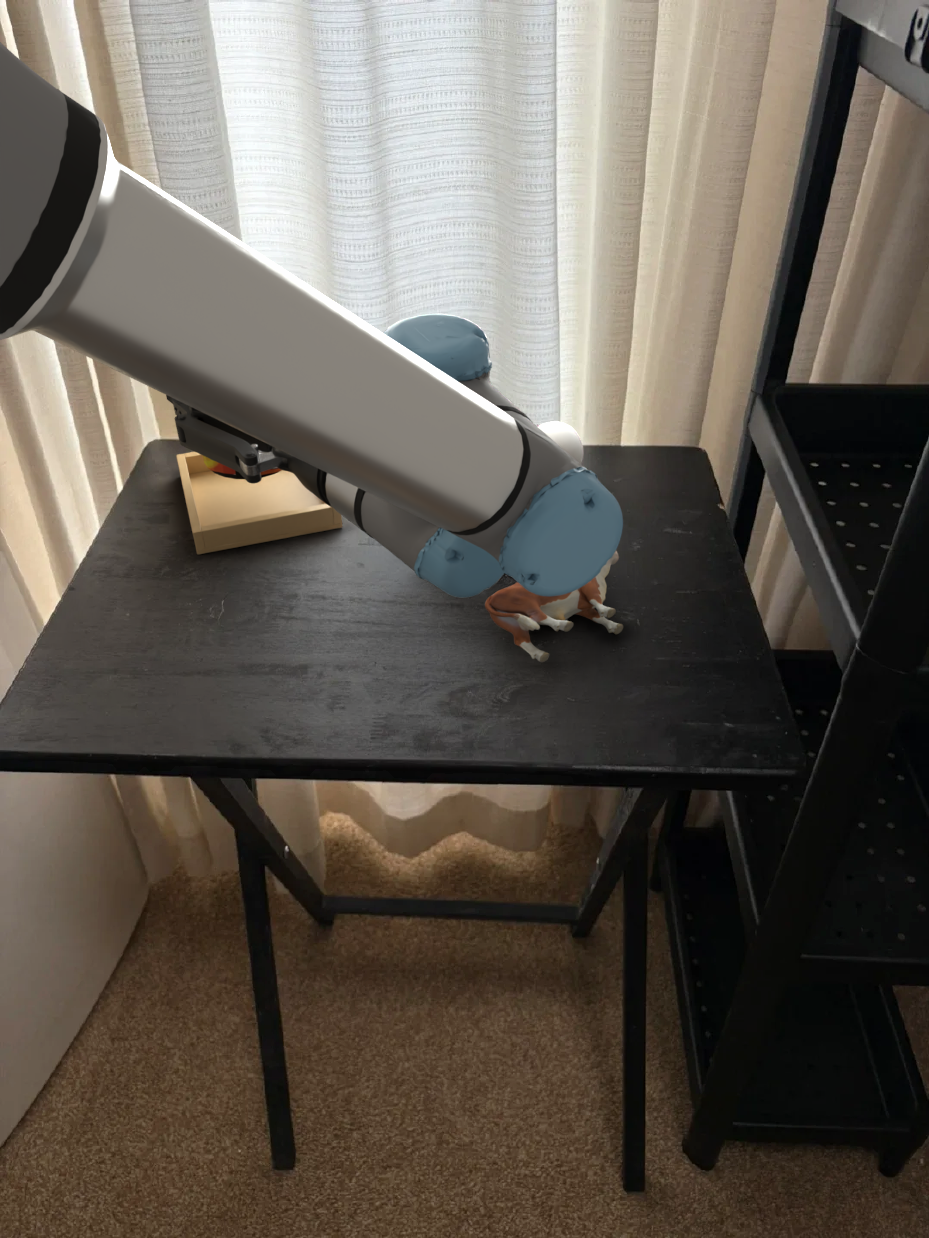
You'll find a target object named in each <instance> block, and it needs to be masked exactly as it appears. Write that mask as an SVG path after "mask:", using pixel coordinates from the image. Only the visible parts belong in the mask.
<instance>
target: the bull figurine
mask: <svg viewBox="0 0 929 1238" xmlns="http://www.w3.org/2000/svg"><path fill="white" fill-rule="evenodd" d="M619 558H620V556H619V553H618V551H617V550H616V551H615V553H614V555H613V556H612V558H610V559H609V560H608V561H607V563H606V565H604V566H603V567H602V569H601V571H600V573H599V574H598V575H597V576H596V577H594V578H593V579H592V580H591V581H590V582H588V583H587V584H586V585H584V586H582V587H581V588H579V589H577V590H575V591H573V592H570V593H567V594H564V595H559V596H540V595H536V594H534V593H532V592H529V591H528V590H526V589H525V588H524V587H523V586H522V585H520V584H519V583H518V582H517V581H516V582H515V583H514V584H512V585H509V586H507V587H504V588H501V589H499V590H497V591H496V592H495V593H493V594H491V595H490V596H489V597H487V599H486V600H485V602H484V608H485V610H486V611H487V612H488V613H489V616H490V618H491V620H492V621H493V622H494V623H495V625H496V626H498V627H500V628H501V629H503V630H505V631H506V632H507V633H509V634H510V633H511V634H512V637H513V643H514V645H515V646H518V647H519V648H521V649H522V650H524V651H525V652H526V653H527V654H529V655H530V657H531V659H532V660H535V659H536V661H538V662H540V663H544V662H546V661H548V659H549V658H550V653H548V652H547V651H545V650H541V649H539V648H538V647H536V646H535V645H534V644H533V642H531V635H530V631H534V630H538V631H539V630H540V629H541V626H549V627H551V629H553V630H554V631H555V632H559V630H560V631H562V632H565V633H566V632H567V633H568V632H569V631H570V630H572V628H573V627H574V622H572V621H569V620H568V619H569V618H570V617H572V616H574V615H578V616H580V617H584V618H586V619H589V620H590V621H593V622H594V623H596V624H599V625H602V626H604V627H605V628H606V630H607V632H608V633H609V634H615V635H619V634H620V633H621V632H622V631H623V629H624V625H623V624H622V623H619V622H618V623H617V622H615V621H612V620H609V619H611V618H612V617H613V616H614V615H615V614H616V609H615V608H613V607H609V606H606V605H603V603H604V602H605V600H606V594H607V582H606V577H607V576H608V575H609V573H610V570H611V565H615V564H616V563H617V562H618V561H619Z"/></svg>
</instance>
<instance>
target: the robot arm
mask: <svg viewBox="0 0 929 1238" xmlns="http://www.w3.org/2000/svg"><path fill="white" fill-rule="evenodd" d="M111 145H112V144H111V141H110V138H109V135H108V131H107V128H106V124H105V123H104V121H103V119H101V118H100V116H98V115H97V114H95V113H94V112H93V111H91V110H89V109H88V108H87V107H85V106H84V105H82V104H81V103H79V102H77V100H74V99H73V98H71V97H70V96H68V95H67V94H65V93H64V92H62V90H60V89H59V88H56V87H55V86H54V85H52V83H50V82H48V81H47V80H46V79H45V78H43V76H41V75H39V74H38V73H37V72H35V71H34V70H33V69H32V68H31V67H30V66H28V65H27V63H25V62H24V61H22V60H21V59H20V58H19V57H17V56H16V55H15V54H14V53H13V52H12V51H11V50H10V49H9V48H7V47H6V46H5V45H4V44H3V43H2V42H1V41H0V341H2V340H6V339H9V338H13V337H15V336H19V335H21V334H24V333H28V332H31V331H32V332H35V333H38V334H40V335H41V336H44V337H46V338H48V339H50V340H52V341H54V342H56V343H58V344H60V345H63V346H64V347H66V348H69V349H71V350H73V351H74V352H77V353H78V354H81V355H83V356H85V357H87V358H89V359H91V360H93V361H95V362H97V363H99V364H101V365H104V366H105V367H107V368H109V369H110V368H111V369H112V370H114V371H116V372H118V373H120V374H122V375H125V376H127V377H129V378H131V379H132V380H134V381H137V382H138V383H140V384H143V385H144V386H147V387H149V388H150V389H153V390H156V391H157V392H160V393H161V394H163V395H165V397H166V400H167V401H168V402H169V403H170V404H172V406H173V410H174V411H173V412H174V415H176V416H175V417H174V423H175V427H176V433H177V438H178V441H179V445H180V446H182V447H184V448H186V449H188V450H190V451H191V452H197V453H199V454H201V455H203V456H205V457H207V458H209V459H212V460H214V461H216V462H218V463H220V464H222V465H225V466H227V467H229V468H231V469H233V470H235V471H237V472H239V473H240V474H241V475H242V476H243V477H244V478H245V480H246V481H247V482H249V483H258V482H260V481H261V479H262V478H261V472H263V471H266V470H269V469H272V468H275V467H277V468H279V469H281V470H284V471H288V472H291V473H293V474H294V475H295V476H296V477H297V478H298V479H299V481H300V482H301V483H302V485H303V486H304V487H305V488H306V489H307V490H309V491H310V492H311V493H313V494H314V495H315V496H317V497H318V498H319V499H321V500H322V501H323V502H325V503H326V504H327V505H329V506H330V507H332V508H334V509H335V510H336V511H337V512H338V513H340V514H341V517H344V518H345V519H346V520H348V522H349V523H351V524H353V525H354V526H356V528H358V529H360V530H361V531H362V532H364V533H365V534H366V535H367V536H369V537H370V538H372V539H374V540H375V541H376V542H377V543H378V544H380V545H381V546H382V547H384V549H386V550H388V551H389V552H390V553H391V554H392V555H393V556H395V557H396V558H397V559H399V560H400V561H401V562H402V563H403V564H404V565H406V566H407V567H408V568H410V569H411V570H412V571H414V574H416V576H417V577H418V578H419V579H421V580H424V581H427V582H429V583H431V584H432V585H434V586H435V587H437V588H438V589H440V590H441V591H442V592H444V593H446V594H447V595H450V596H452V597H455V598H461V599H462V598H463V599H465V598H472V597H474V596H477V595H479V594H481V593H482V592H483V591H485V590H487V589H490V588H491V587H493V586H494V585H495V584H496V583H497V582H498V581H499V580H500V579H502V577H503V576H504V575H507V576H509V577H511V578H512V579H514V580H515V581H516V583H517V582H518V583H519V584H520V585H522V586H523V587H524V588H525V589H526V590H528V591H529V592H532V593H534V594H536V595H540V596H559V595H564V594H567V593H570V592H573V591H575V590H577V589H579V588H581V587H582V586H584V585H586V584H587V583H588V582H590V581H591V580H592V579H593V578H594V577H596V576H597V575H598V574H599V573H600V571H601V569H602V567H603V566H604V565H606V563H607V561H608V560H609V559H610V558H612V556H613V555H614V553H615V551H617V549H618V547H619V544H620V542H621V538H622V535H623V529H624V528H623V527H624V519H623V518H624V517H623V512H622V509H621V505H620V503H619V501H618V500H617V498H616V497H615V496H614V495H613V494H612V493H611V491H610V490H608V489H607V488H606V486H605V485H603V483H602V482H601V481H600V480H599V479H598V474H597V473H595V472H594V471H592V470H591V469H587V467H585V466H584V465H582V463H581V464H580V463H579V462H577V461H576V460H575V459H574V458H573V457H572V456H570V455H569V454H568V453H567V452H566V451H565V450H564V449H563V448H561V447H560V446H559V445H558V444H557V443H556V442H555V441H553V440H552V439H551V438H550V437H549V436H548V435H546V434H545V433H544V432H543V431H542V430H541V429H539V428H538V426H537V424H535V423H534V422H533V420H531V419H530V417H528V415H527V414H526V413H525V412H524V411H522V410H521V409H520V407H518V406H517V405H516V404H515V403H513V401H511V400H510V399H509V398H508V397H507V396H506V395H505V394H504V393H502V392H501V391H500V390H499V389H498V388H496V387H495V386H494V385H493V384H492V382H491V379H490V374H491V370H492V368H493V361H492V360H491V356H490V343H489V339H488V337H487V334H486V332H485V330H484V329H483V328H482V327H480V326H479V325H478V324H477V323H475V322H474V321H472V320H469V319H467V318H465V317H462V316H459V315H454V314H447V313H425V314H419V315H415V316H411V317H406V318H403V319H401V320H398V321H397V322H395V323H393V324H391V325H390V326H388V327H387V328H386V330H384V331H383V332H382V331H380V330H379V329H378V328H376V327H375V326H373V325H371V324H370V323H368V322H366V321H365V320H363V318H360V317H359V316H358V315H356V314H354V313H353V312H351V311H350V310H348V309H346V308H345V307H344V306H342V305H340V304H339V303H337V302H336V301H335V300H332V299H331V298H330V297H328V296H326V295H325V294H323V293H322V292H320V291H319V290H317V289H316V288H315V287H312V286H311V285H310V284H308V283H307V282H305V281H304V280H302V279H300V278H298V277H297V276H296V275H294V274H292V273H291V272H289V271H288V270H286V269H284V267H282V266H280V265H278V264H277V263H276V262H274V261H272V260H271V259H269V258H268V257H267V256H265V255H263V254H262V253H260V252H259V251H257V250H255V249H254V248H252V247H250V246H249V245H248V244H246V243H244V242H243V241H241V240H240V239H239V238H237V237H236V236H234V235H232V234H231V233H229V232H227V230H225V229H223V228H222V227H220V226H219V225H217V224H215V223H214V222H212V221H211V220H209V219H208V218H206V217H204V216H203V215H201V214H200V213H198V212H196V211H195V210H194V209H192V208H190V206H188V205H186V204H184V203H183V202H181V201H180V200H178V199H177V198H175V197H174V196H172V195H171V194H169V193H168V192H166V191H164V190H163V189H162V188H160V187H158V186H157V185H155V184H154V183H152V182H150V181H149V180H147V179H146V178H145V177H143V176H141V175H139V174H138V173H137V172H136V171H133V170H132V169H130V168H129V167H127V166H126V165H124V164H123V163H121V162H120V161H118V160H117V159H116V158H115V156H114V153H113V149H112V146H111Z"/></svg>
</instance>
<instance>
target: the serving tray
mask: <svg viewBox="0 0 929 1238" xmlns="http://www.w3.org/2000/svg"><path fill="white" fill-rule="evenodd" d="M175 457H176V462H177V465H178V470H179V476H180V480H181V485H182V490H183V494H184V498H185V503H186V508H187V514H188V518H189V523H190V527H191V531H192V537H193V540H194V545H195V551H196V554H197V555H202V554H203V555H204V554H208V553H214V552H220V551H224V550H230V549H235V548H239V547H245V546H251V545H256V544H262V543H266V542H271V541H278V540H283V539H287V538H293V537H299V536H303V535H310V534H314V533H319V532H324V531H330V530H335V529H341V528H343V516H342V515H341V514H340V513H338V512H337V511H336V510H335V509H334V508H332V507H330V506H329V505H327V504H326V503H325V502H323V501H322V500H321V499H319V498H318V497H317V496H315V495H314V494H313V493H311V492H310V491H309V490H307V489H306V488H305V487H304V486H303V485H302V483H301V482H300V481H299V479H298V478H297V477H296V476H295V475H294V474H293V473H291V472H288V471H284V470H282V471H280V472H278V473H276V474H273V475H270V476H266V477H263V478H262V479H261V481H260V482H258V483H249V482H247V481H246V480H245V479H233V478H227V477H223V476H220V475H218V474H215V473H214V472H212V471H211V470H210V469H208V468H207V466H206V465H205V463H204V460H203V455H201V454H199V453H197V452H194V451H191V452H184V453H179V454H175Z"/></svg>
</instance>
